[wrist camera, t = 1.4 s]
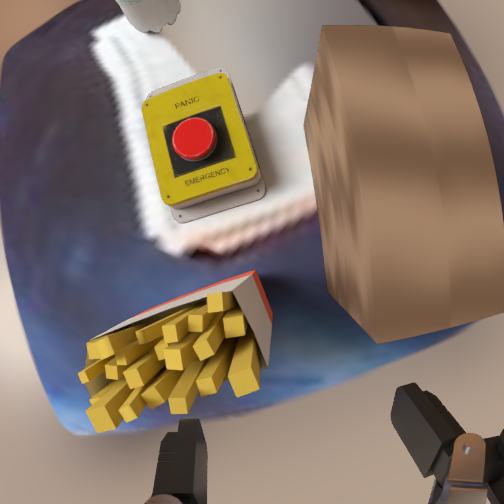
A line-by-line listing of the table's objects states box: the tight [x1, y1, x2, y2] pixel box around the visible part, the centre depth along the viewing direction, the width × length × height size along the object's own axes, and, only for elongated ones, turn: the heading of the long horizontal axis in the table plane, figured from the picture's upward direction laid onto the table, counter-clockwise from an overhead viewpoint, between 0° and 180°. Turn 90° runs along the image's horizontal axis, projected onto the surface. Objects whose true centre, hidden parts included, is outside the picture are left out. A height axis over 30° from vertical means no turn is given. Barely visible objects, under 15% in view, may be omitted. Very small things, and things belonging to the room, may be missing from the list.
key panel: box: [303, 25, 504, 344], centre depth 21 cm, size 16×8×16 cm, turn 7°
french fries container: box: [78, 270, 273, 433], centre depth 21 cm, size 5×11×18 cm, turn 111°
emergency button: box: [142, 68, 265, 223], centre depth 28 cm, size 9×4×15 cm
